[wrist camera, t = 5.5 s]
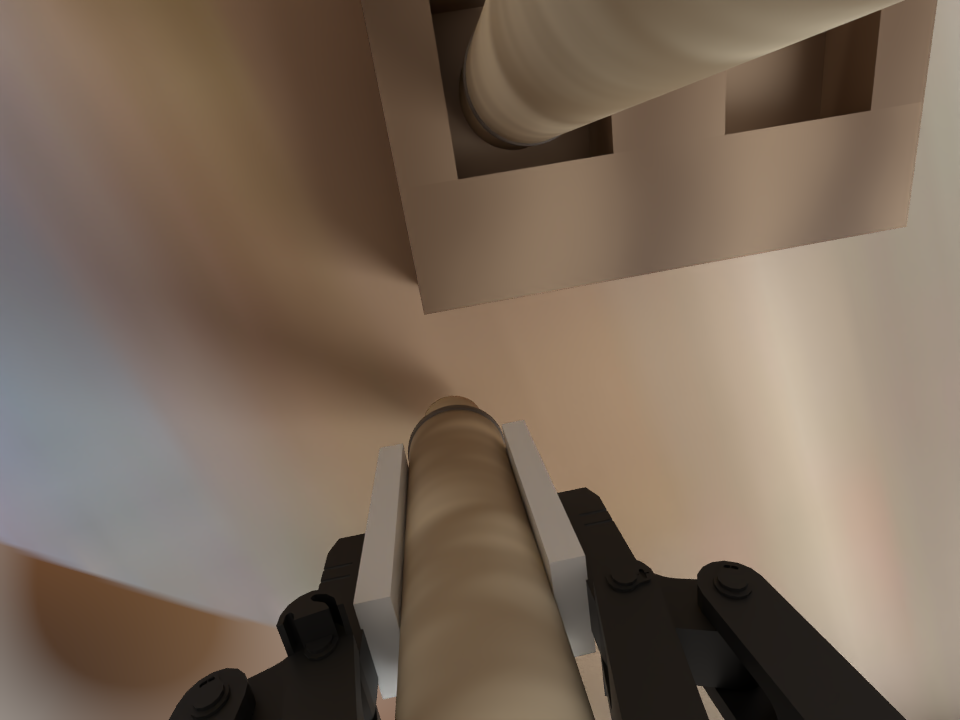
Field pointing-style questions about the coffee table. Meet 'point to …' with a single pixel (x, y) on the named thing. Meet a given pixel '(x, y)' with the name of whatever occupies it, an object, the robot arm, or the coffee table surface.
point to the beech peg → (476, 585)
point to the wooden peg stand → (641, 132)
